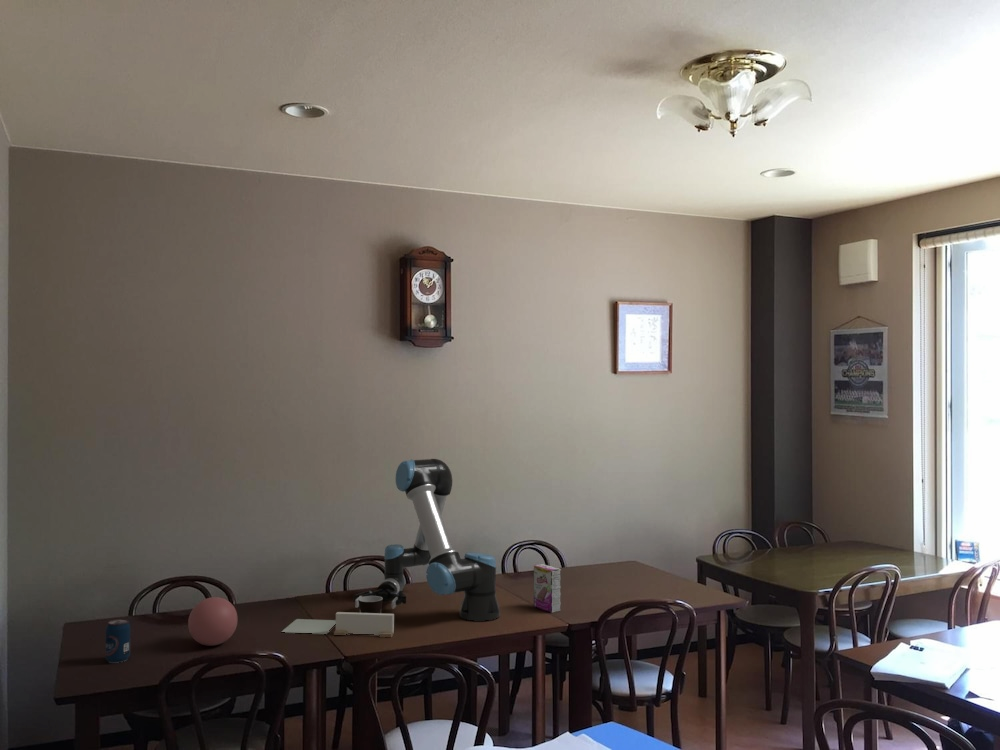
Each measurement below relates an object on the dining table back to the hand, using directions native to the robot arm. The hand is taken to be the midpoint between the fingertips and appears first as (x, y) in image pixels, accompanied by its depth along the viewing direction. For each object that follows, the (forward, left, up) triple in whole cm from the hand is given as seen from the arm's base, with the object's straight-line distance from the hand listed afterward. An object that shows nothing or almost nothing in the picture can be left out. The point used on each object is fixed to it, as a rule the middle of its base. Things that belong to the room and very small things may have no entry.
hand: (374, 604), depth 296 cm
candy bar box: (-62, -23, -6) cm, 67 cm away
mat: (+20, +10, -6) cm, 24 cm away
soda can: (+68, +51, -6) cm, 86 cm away
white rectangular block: (-1, +16, -6) cm, 17 cm away
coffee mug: (-1, +6, -6) cm, 9 cm away
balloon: (+47, +31, -6) cm, 57 cm away
